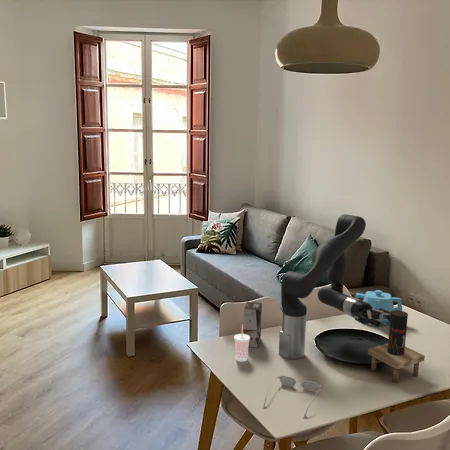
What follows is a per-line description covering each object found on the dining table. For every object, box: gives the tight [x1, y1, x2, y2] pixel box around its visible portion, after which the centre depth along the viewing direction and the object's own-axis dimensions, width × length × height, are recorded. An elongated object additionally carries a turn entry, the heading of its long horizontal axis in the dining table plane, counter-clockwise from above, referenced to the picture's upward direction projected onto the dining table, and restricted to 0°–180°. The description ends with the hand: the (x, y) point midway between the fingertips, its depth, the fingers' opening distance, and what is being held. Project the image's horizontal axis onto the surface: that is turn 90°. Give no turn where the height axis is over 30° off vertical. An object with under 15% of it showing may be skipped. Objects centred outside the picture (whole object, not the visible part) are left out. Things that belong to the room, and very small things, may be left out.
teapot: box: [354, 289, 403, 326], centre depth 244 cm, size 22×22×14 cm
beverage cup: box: [233, 323, 250, 363], centre depth 203 cm, size 6×6×14 cm
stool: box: [367, 343, 425, 384], centre depth 195 cm, size 14×14×8 cm
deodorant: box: [387, 310, 409, 356], centre depth 193 cm, size 6×6×15 cm
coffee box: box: [243, 301, 263, 348], centre depth 218 cm, size 9×6×16 cm
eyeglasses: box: [262, 375, 322, 420], centre depth 174 cm, size 15×18×4 cm
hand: (387, 322), depth 196 cm, fingers open, 8 cm apart
